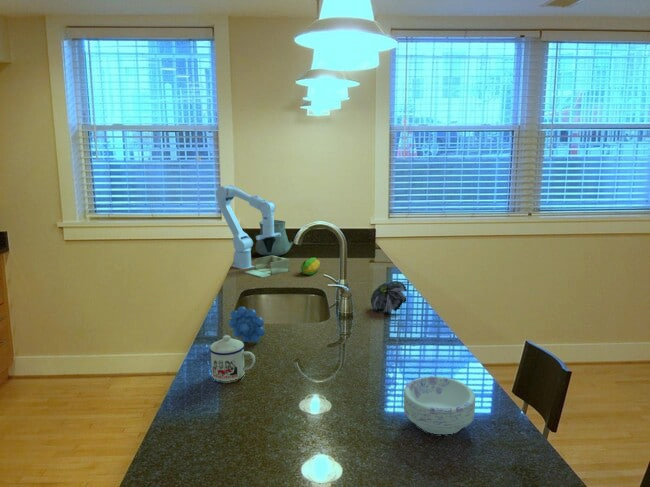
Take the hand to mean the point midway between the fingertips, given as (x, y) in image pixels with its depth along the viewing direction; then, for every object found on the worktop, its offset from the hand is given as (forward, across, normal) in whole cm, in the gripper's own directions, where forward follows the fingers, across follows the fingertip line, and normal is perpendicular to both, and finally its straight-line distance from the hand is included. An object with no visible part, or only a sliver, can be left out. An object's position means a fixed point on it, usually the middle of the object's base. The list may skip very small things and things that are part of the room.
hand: (269, 252), depth 252 cm
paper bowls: (+10, -63, -143) cm, 157 cm away
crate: (+9, -2, -4) cm, 10 cm away
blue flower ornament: (+10, -66, -74) cm, 100 cm away
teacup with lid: (+10, -82, -91) cm, 123 cm away
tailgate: (+9, -8, -4) cm, 13 cm away
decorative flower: (+10, -8, -84) cm, 85 cm away
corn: (+10, +11, -20) cm, 25 cm away
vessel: (+10, +25, +28) cm, 39 cm away
